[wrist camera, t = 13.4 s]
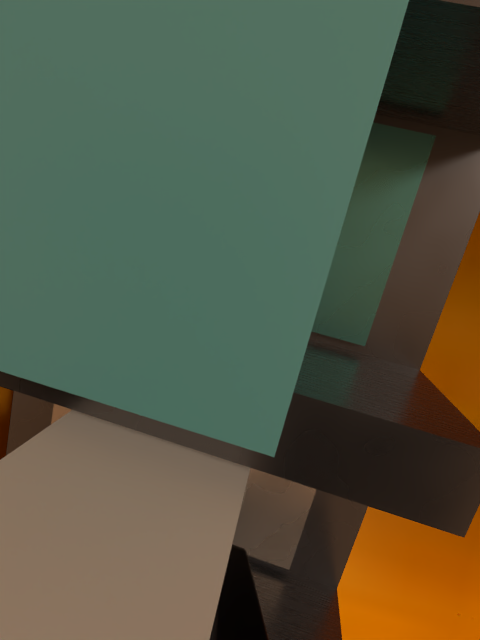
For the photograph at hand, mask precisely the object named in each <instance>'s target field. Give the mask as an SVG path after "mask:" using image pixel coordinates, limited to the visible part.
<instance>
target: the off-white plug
mask: <svg viewBox="0 0 480 640" xmlns="http://www.w3.org/2000/svg"><path fill="white" fill-rule="evenodd" d="M249 472H250V467H247V466H244V465H240V464H237V463H234V462H231V461H228V460H225V459H222V458H219V457H216V456H213V455H210V454H207V453H204V452H201V451H197V450H194V449H191V448H188V447H185V446H182V445H179V444H176V443H173V442H170V441H167V440H164V439H161V438H158V437H155V436H151V435H148V434H145V433H142V432H139V431H136V430H133V429H130V428H127V427H124V426H121V425H118V424H115V423H112V422H109V421H105V420H102V419H99V418H96V417H93V416H90V415H87V414H84V413H81V412H78V411H75V410H71V411H70V412H69V413H67V414H66V415H64V416H63V417H61V418H60V419H58V420H57V421H56V422H54V423H53V424H51V425H50V426H48V427H47V428H45V429H44V430H43V431H41V432H40V433H38V434H37V435H35V436H34V437H33V438H31V439H30V440H28V441H27V442H25V443H24V444H22V445H21V446H20V447H18V448H17V449H15V450H14V451H12V452H11V453H9V454H8V455H7V456H5V457H4V458H2V459H1V460H0V640H209V639H210V635H211V631H212V627H213V623H214V618H215V614H216V610H217V606H218V602H219V597H220V593H221V589H222V585H223V581H224V576H225V572H226V568H227V564H228V560H229V555H230V551H231V547H232V543H233V539H234V534H235V530H236V526H237V522H238V518H239V513H240V509H241V505H242V501H243V497H244V492H245V488H246V484H247V480H248V476H249Z"/></svg>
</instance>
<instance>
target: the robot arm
mask: <svg viewBox="0 0 480 640" xmlns="http://www.w3.org/2000/svg"><path fill="white" fill-rule="evenodd" d="M209 640H269V638H268V634H267V630H266V626H265V622H264V618H263V614H262V610H261V606H260V602H259V598H258V595H257V591H256V587H255V583H254V579H253V575H252V571H251V567H250V563H249V559H248V555H247V552H246V550H245V549H244V548H242V547H239V546H236V545H233V544H232V547H231V551H230V555H229V560H228V564H227V568H226V572H225V576H224V581H223V585H222V589H221V593H220V597H219V602H218V606H217V610H216V614H215V618H214V623H213V627H212V631H211V635H210V639H209Z"/></svg>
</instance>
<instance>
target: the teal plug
mask: <svg viewBox="0 0 480 640" xmlns="http://www.w3.org/2000/svg"><path fill="white" fill-rule="evenodd" d="M408 2H409V0H0V371H1V372H5V373H8V374H11V375H14V376H17V377H20V378H24V379H27V380H30V381H33V382H36V383H40V384H43V385H46V386H49V387H52V388H55V389H59V390H62V391H65V392H68V393H71V394H75V395H78V396H81V397H84V398H87V399H90V400H94V401H97V402H100V403H103V404H106V405H110V406H113V407H116V408H119V409H122V410H125V411H129V412H132V413H135V414H138V415H141V416H145V417H148V418H151V419H154V420H157V421H160V422H164V423H167V424H170V425H173V426H176V427H180V428H183V429H186V430H189V431H192V432H195V433H199V434H202V435H205V436H208V437H211V438H214V439H218V440H221V441H224V442H227V443H230V444H234V445H237V446H240V447H243V448H246V449H249V450H253V451H256V452H259V453H262V454H265V455H269V456H272V457H274V456H275V453H276V450H277V446H278V443H279V439H280V436H281V433H282V429H283V426H284V422H285V419H286V416H287V412H288V409H289V406H290V402H291V399H292V395H293V392H294V389H295V385H296V382H297V378H298V375H299V372H300V368H301V365H302V361H303V358H304V355H305V351H306V348H307V345H308V341H309V338H310V334H311V331H312V328H313V324H314V321H315V317H316V314H317V311H318V307H319V304H320V300H321V297H322V294H323V290H324V287H325V284H326V280H327V277H328V273H329V270H330V267H331V263H332V260H333V256H334V253H335V250H336V246H337V243H338V239H339V236H340V233H341V229H342V226H343V223H344V219H345V216H346V212H347V209H348V206H349V202H350V199H351V195H352V192H353V189H354V185H355V182H356V178H357V175H358V172H359V168H360V165H361V162H362V158H363V155H364V151H365V148H366V145H367V141H368V138H369V134H370V131H371V128H372V124H373V121H374V117H375V114H376V111H377V107H378V104H379V100H380V97H381V94H382V90H383V87H384V84H385V80H386V77H387V73H388V70H389V67H390V63H391V60H392V56H393V53H394V50H395V46H396V43H397V39H398V36H399V33H400V29H401V26H402V23H403V19H404V16H405V12H406V9H407V6H408Z"/></svg>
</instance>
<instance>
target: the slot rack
mask: <svg viewBox="0 0 480 640" xmlns="http://www.w3.org/2000/svg"><path fill="white" fill-rule="evenodd" d="M479 212H480V0H409V2H408V6H407V9H406V12H405V16H404V19H403V23H402V26H401V29H400V33H399V36H398V39H397V43H396V46H395V50H394V53H393V56H392V60H391V63H390V67H389V70H388V73H387V77H386V80H385V84H384V87H383V90H382V94H381V97H380V100H379V104H378V107H377V111H376V114H375V117H374V121H373V124H372V128H371V131H370V134H369V138H368V141H367V145H366V148H365V151H364V155H363V158H362V162H361V165H360V168H359V172H358V175H357V178H356V182H355V185H354V189H353V192H352V195H351V199H350V202H349V206H348V209H347V212H346V216H345V219H344V223H343V226H342V229H341V233H340V236H339V239H338V243H337V246H336V250H335V253H334V256H333V260H332V263H331V267H330V270H329V273H328V277H327V280H326V284H325V287H324V290H323V294H322V297H321V300H320V304H319V307H318V311H317V314H316V317H315V321H314V324H313V328H312V331H311V334H310V338H309V341H308V345H307V348H306V351H305V355H304V358H303V361H302V365H301V368H300V372H299V375H298V378H297V382H296V385H295V389H294V392H293V395H292V399H291V402H290V406H289V409H288V412H287V416H286V419H285V422H284V426H283V429H282V433H281V436H280V439H279V443H278V446H277V450H276V453H275V456H274V457H272V456H269V455H265V454H262V453H259V452H256V451H253V450H249V449H246V448H243V447H240V446H237V445H234V444H230V443H227V442H224V441H221V440H218V439H214V438H211V437H208V436H205V435H202V434H199V433H195V432H192V431H189V430H186V429H183V428H180V427H176V426H173V425H170V424H167V423H164V422H160V421H157V420H154V419H151V418H148V417H145V416H141V415H138V414H135V413H132V412H129V411H125V410H122V409H119V408H116V407H113V406H110V405H106V404H103V403H100V402H97V401H94V400H90V399H87V398H84V397H81V396H78V395H75V394H71V393H68V392H65V391H62V390H59V389H55V388H52V387H49V386H46V385H43V384H40V383H36V382H33V381H30V380H27V379H24V378H20V377H17V376H14V375H11V374H8V373H5V372H1V371H0V386H1V387H4V388H7V389H10V390H13V391H14V393H13V401H12V410H11V418H10V426H9V435H8V443H7V451H6V456H7V455H8V454H9V453H11V452H12V451H14V450H15V449H17V448H18V447H20V446H21V445H22V444H24V443H25V442H27V441H28V440H30V439H31V438H33V437H34V436H35V435H37V434H38V433H40V432H41V431H43V430H44V429H45V428H47V427H48V426H50V425H51V424H53V423H54V422H56V421H57V420H58V419H60V418H61V417H63V416H64V415H66V414H67V413H69V412H70V411H71V410H75V411H78V412H81V413H84V414H87V415H90V416H93V417H96V418H99V419H102V420H105V421H109V422H112V423H115V424H118V425H121V426H124V427H127V428H130V429H133V430H136V431H139V432H142V433H145V434H148V435H151V436H155V437H158V438H161V439H164V440H167V441H170V442H173V443H176V444H179V445H182V446H185V447H188V448H191V449H194V450H197V451H201V452H204V453H207V454H210V455H213V456H216V457H219V458H222V459H225V460H228V461H231V462H234V463H237V464H240V465H244V466H247V467H250V472H249V476H248V480H247V484H246V488H245V492H244V497H243V501H242V505H241V509H240V513H239V518H238V522H237V526H236V530H235V534H234V539H233V543H232V544H233V545H236V546H239V547H242V548H244V549H245V550H246V552H247V555H248V559H249V563H250V567H251V571H252V575H253V579H254V583H255V587H256V591H257V595H258V598H259V602H260V606H261V610H262V614H263V618H264V622H265V626H266V630H267V634H268V638H269V640H342V635H341V625H340V615H339V605H338V596H337V587H338V584H339V581H340V579H341V576H342V573H343V571H344V568H345V565H346V563H347V560H348V557H349V555H350V552H351V550H352V547H353V544H354V542H355V539H356V536H357V534H358V531H359V528H360V526H361V523H362V521H363V518H364V515H365V513H366V510H367V507H368V506H369V507H372V508H375V509H379V510H382V511H385V512H388V513H391V514H394V515H397V516H400V517H403V518H406V519H409V520H412V521H415V522H418V523H421V524H425V525H428V526H431V527H434V528H437V529H440V530H443V531H446V532H449V533H452V534H455V535H458V536H461V537H465V535H466V532H467V530H468V528H469V526H470V524H471V522H472V519H473V517H474V515H475V513H476V511H477V508H478V506H479V504H480V432H479V431H478V430H477V429H476V428H475V426H474V425H473V424H472V423H471V422H470V421H469V420H468V419H467V418H466V417H465V416H464V415H463V414H462V413H461V412H460V411H459V410H458V409H457V408H456V407H455V406H454V405H453V404H452V403H451V402H450V401H449V400H448V399H447V398H446V397H445V396H444V395H443V394H442V393H441V392H440V391H439V390H438V389H437V388H436V386H435V385H434V384H433V383H432V382H431V381H430V380H429V379H428V378H427V377H426V376H425V375H424V374H423V373H422V372H421V371H420V367H421V365H422V362H423V360H424V357H425V354H426V352H427V349H428V346H429V344H430V341H431V338H432V336H433V333H434V330H435V328H436V325H437V323H438V320H439V317H440V315H441V312H442V309H443V307H444V304H445V301H446V299H447V296H448V294H449V291H450V288H451V286H452V283H453V280H454V278H455V275H456V272H457V270H458V267H459V264H460V262H461V259H462V257H463V254H464V251H465V249H466V246H467V243H468V241H469V238H470V235H471V233H472V230H473V228H474V225H475V222H476V220H477V217H478V214H479Z"/></svg>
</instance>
